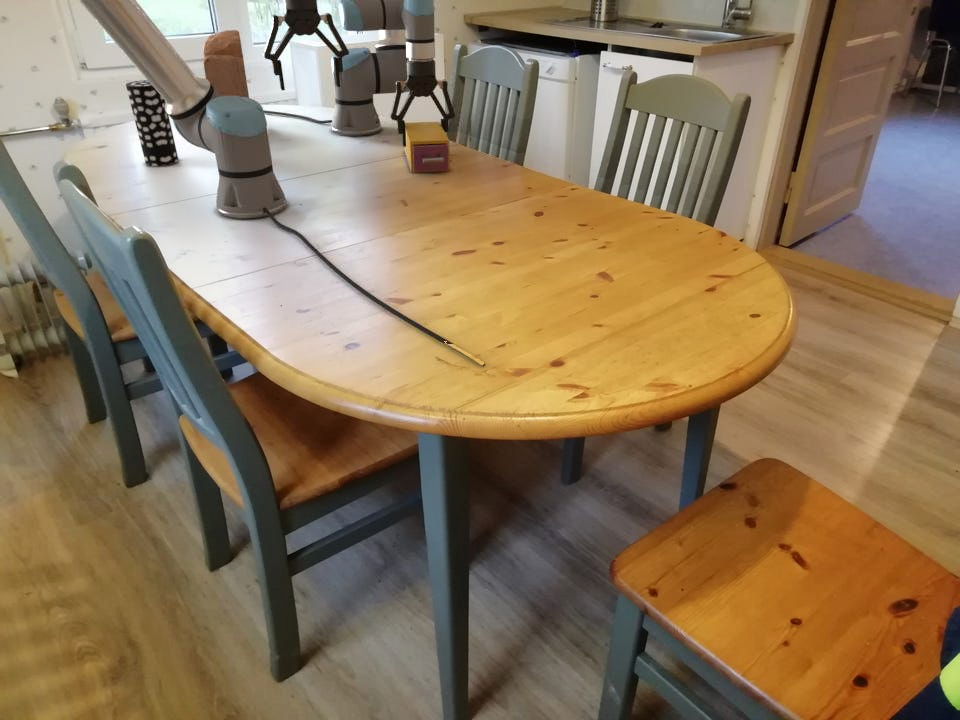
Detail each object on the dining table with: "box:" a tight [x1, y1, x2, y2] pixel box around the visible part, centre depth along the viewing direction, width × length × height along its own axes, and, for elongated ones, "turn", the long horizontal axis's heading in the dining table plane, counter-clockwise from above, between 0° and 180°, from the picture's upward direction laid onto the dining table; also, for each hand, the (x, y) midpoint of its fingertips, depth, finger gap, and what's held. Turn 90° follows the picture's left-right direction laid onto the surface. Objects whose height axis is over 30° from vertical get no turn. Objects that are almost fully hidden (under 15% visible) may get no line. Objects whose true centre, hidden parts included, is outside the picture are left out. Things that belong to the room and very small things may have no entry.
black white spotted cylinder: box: [125, 79, 179, 167], centre depth 181 cm, size 8×8×20 cm
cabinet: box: [404, 121, 451, 174], centre depth 188 cm, size 19×10×8 cm, turn 11°
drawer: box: [413, 144, 448, 171], centre depth 183 cm, size 23×9×6 cm, turn 11°
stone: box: [202, 29, 250, 98], centre depth 205 cm, size 22×11×28 cm, turn 18°
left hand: (310, 87), depth 171 cm, fingers open, 13 cm apart
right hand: (423, 144), depth 193 cm, fingers closed on cabinet, 10 cm apart
